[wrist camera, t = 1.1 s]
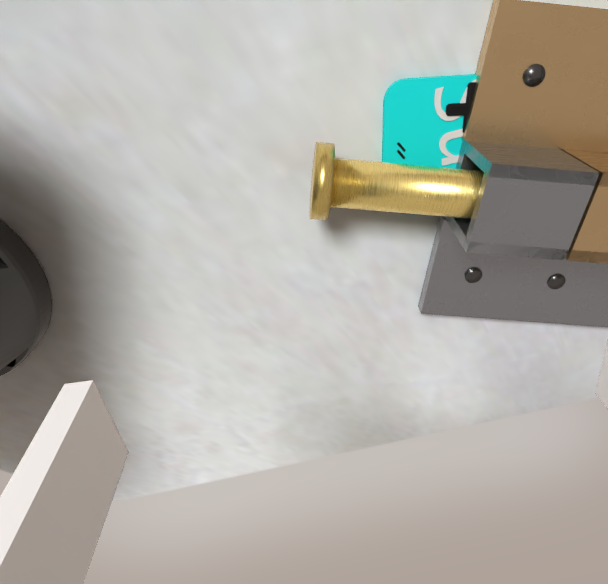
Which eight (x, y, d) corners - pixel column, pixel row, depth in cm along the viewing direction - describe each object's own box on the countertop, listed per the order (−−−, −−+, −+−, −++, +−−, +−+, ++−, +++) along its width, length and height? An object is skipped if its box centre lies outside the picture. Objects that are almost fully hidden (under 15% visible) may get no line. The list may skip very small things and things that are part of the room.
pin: (309, 203, 32) (309, 230, 28) (316, 134, 29) (317, 153, 26) (608, 227, 32) (648, 258, 29) (636, 162, 30) (684, 185, 26)
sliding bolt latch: (418, 305, 37) (435, 353, 32) (493, -2, 27) (537, -2, 22) (648, 322, 38) (700, 372, 33) (808, 30, 27) (919, 37, 22)
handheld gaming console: (385, 81, 28) (649, 65, 28) (383, 79, 29) (639, 62, 29) (382, 217, 33) (610, 204, 32) (379, 211, 33) (602, 199, 33)
